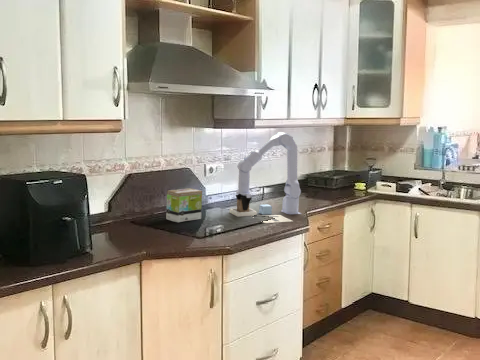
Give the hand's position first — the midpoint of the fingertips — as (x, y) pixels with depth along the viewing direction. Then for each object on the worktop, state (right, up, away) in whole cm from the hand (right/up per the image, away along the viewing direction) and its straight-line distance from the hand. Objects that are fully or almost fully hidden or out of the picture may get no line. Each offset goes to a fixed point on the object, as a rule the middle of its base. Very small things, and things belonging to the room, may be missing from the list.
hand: (243, 209), depth 297 cm
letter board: (+15, -5, -10) cm, 18 cm away
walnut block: (0, -1, 0) cm, 1 cm away
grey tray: (0, -3, 0) cm, 3 cm away
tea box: (-30, -5, -15) cm, 33 cm away
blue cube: (+12, -3, +3) cm, 13 cm away
